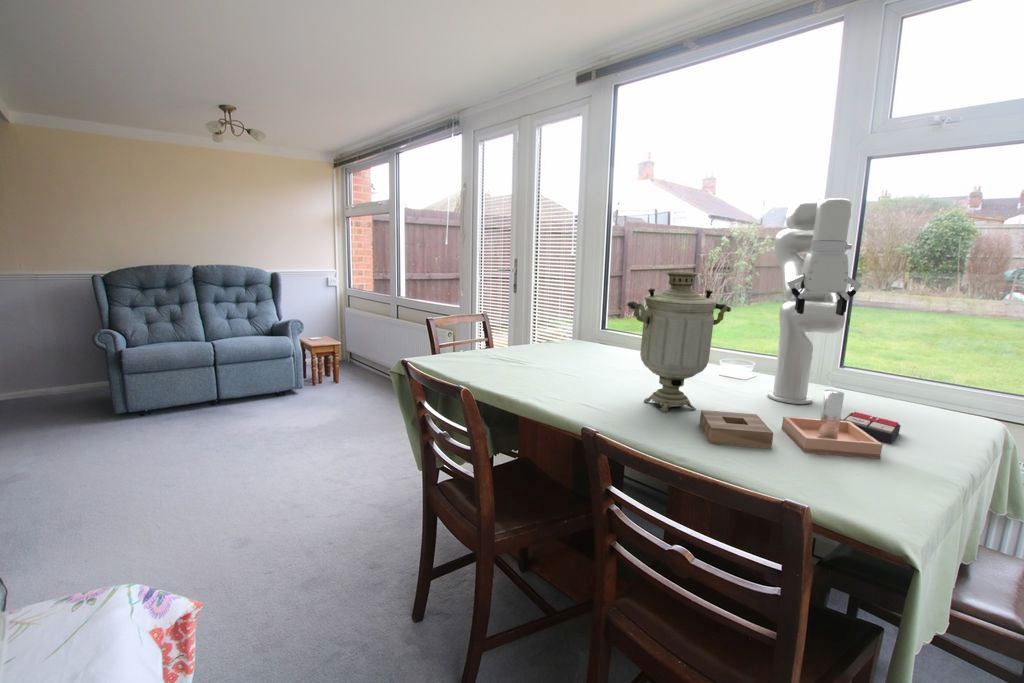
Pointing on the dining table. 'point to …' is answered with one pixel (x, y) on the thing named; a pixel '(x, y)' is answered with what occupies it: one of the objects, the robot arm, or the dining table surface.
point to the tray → (847, 444)
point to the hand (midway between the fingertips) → (819, 314)
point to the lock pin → (831, 414)
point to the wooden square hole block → (735, 429)
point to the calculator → (873, 426)
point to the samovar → (676, 336)
